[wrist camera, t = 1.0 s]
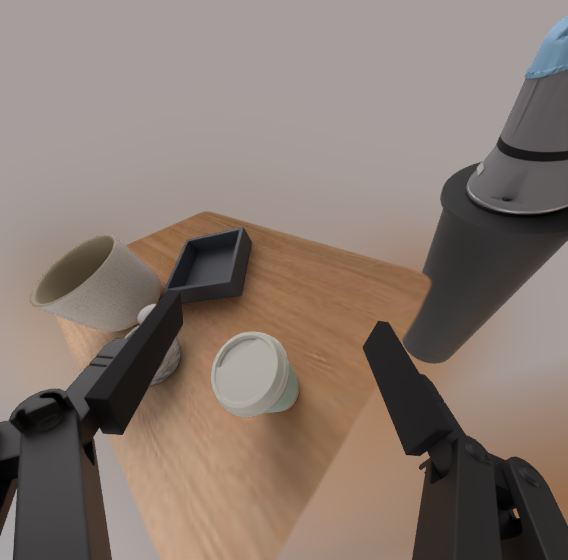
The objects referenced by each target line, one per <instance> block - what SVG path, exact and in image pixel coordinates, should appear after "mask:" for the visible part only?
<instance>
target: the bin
mask: <svg viewBox="0 0 568 560" xmlns="http://www.w3.org/2000/svg"><path fill="white" fill-rule="evenodd" d="M251 243H252V241H251V240H250V238H249V236H248V234H247V233H246V231H245V229H244V227H241V228H237V229H232V230H228V231H223V232H219V233H215V234H210V235H206V236H201V237H197V238H193V239H188V240H186V242H185V245H184V247H183V249H182V251H181V253H180V256H179V258H178V260H177V262H176V265H175V267H174V269H173V271H172V273H171V276H170V278H169V280H168V282H167V284H166V287H165V289H164V291H163V293H166V291H167V290H168V289H169V290H175V291H181V300H182V303H188V302H195V301H203V300H210V299H217V298H225V297H232V296H240V295H242V290H243V285H244V279H245V274H246V269H247V264H248V259H249V253H250V248H251Z"/></svg>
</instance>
